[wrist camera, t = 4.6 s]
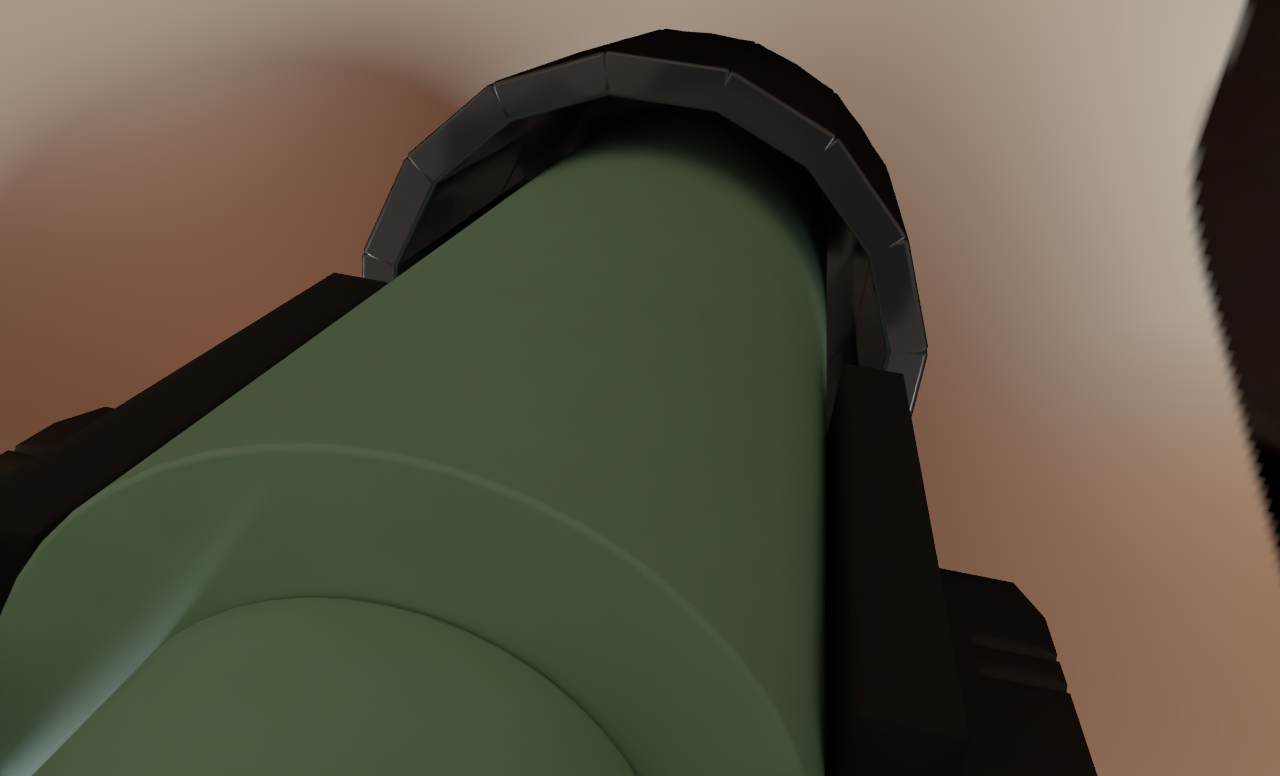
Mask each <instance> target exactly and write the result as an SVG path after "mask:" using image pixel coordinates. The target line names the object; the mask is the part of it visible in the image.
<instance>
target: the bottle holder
mask: <svg viewBox="0 0 1280 776" xmlns="http://www.w3.org/2000/svg"><path fill="white" fill-rule="evenodd" d="M677 109H680V110H692V111H701V112H705V113H710V114H714V115H719V116H722V117H724V118H726V119H728V120H730V121H731V122H733V123H734V124H736V125H738V126H739V127H741V128H743V129H744V130H746V131H747V132H749V133H751V134H752V135H754V136H755V137H757V138H759V139H760V140H762V141H763V142H765V143H767V144H768V145H770V146H772V147H773V148H775V149H776V150H778V151H780V152H781V153H783V154H784V155H785V156H786V157H787V158H788V159H789V160H790V162H791V163H792V164H793V165H794V166H795V168H796V169H797V170H798V171H799V173H800V174H801V176H802V177H803V179H804V180H805V182H806V184H807V185H808V187H809V189H810V190H811V192H812V195H813V197H814V199H815V202H816V204H817V206H818V209H819V212H820V215H821V219H822V222H823V226H824V231H825V238H826V246H827V346H826V437H827V432H828V428H829V423H830V419H831V414H832V410H833V405H834V401H835V396H836V392H837V387H838V383H839V378H840V374H841V369H842V365H843V363H846V364H851V365H857V366H862V367H868V368H874V369H879V370H885V371H891V372H896V373H902V374H903V375H904V380H905V386H906V391H907V397H908V402H909V408H910V413H911V417H912V413H913V409H914V406H915V402H916V398H917V394H918V390H919V386H920V382H921V379H922V375H923V371H924V367H925V363H926V359H927V347H928V344H927V339H926V333H925V328H924V322H923V316H922V311H921V306H920V300H919V295H918V289H917V283H916V278H915V272H914V266H913V261H912V255H911V250H910V245H909V240H908V237H907V233H906V230H905V227H904V223H903V220H902V217H901V213H900V210H899V206H898V203H897V200H896V196H895V193H894V190H893V186H892V183H891V179H890V176H889V173H888V171H887V168H886V165H885V164H884V162H883V161H882V159H881V158H880V156H879V155H878V153H877V152H876V150H875V149H874V147H873V146H872V145H871V143H870V141H869V139H868V137H867V136H866V134H865V132H864V131H863V129H862V127H861V126H860V124H859V123H858V122H857V121H856V119H855V118H854V117H853V116H852V114H851V113H850V112H849V110H848V109H847V108H846V106H845V105H844V103H843V102H842V100H841V99H840V97H839V96H838V94H836V93H834V91H833V90H832V89H830V88H829V87H827V86H826V85H824V84H822V83H821V82H820V81H819V80H817V79H816V78H815V77H813V76H812V75H810V74H809V73H808V72H806V71H805V70H804V69H802V68H801V67H800V66H798V65H797V64H795V63H793V62H791V61H789V60H787V59H785V58H784V57H782V56H780V55H778V54H776V53H774V52H772V51H771V50H768V49H766V48H765V47H763V46H762V45H760V44H757V43H756V44H755V42H754V41H747V40H740V39H735V38H731V37H726V36H722V35H717V34H712V33H699V32H686V31H678V30H671V29H664V30H656V31H653V32H649V33H646V34H642V35H639V36H635V37H632V38H628V39H624V40H621V41H618V42H614V43H610V44H607V45H603V46H600V47H597V48H593V49H589V50H586V51H582V52H579V53H576V54H573V55H570V56H567V57H565V58H562V59H559V60H556V61H553V62H550V63H547V64H545V65H541V66H538V67H536V68H533V69H530V70H527V71H524V72H521V73H518V74H515V75H512V76H509V77H507V78H504V79H501V80H498V81H495V82H494V83H493V84H490V85H488V86H486V87H485V88H484V89H483V90H482V91H481V92H479V93H478V94H477V95H476V96H475V97H474V98H472V99H471V100H470V101H469V102H468V103H467V104H466V105H464V106H463V107H462V108H461V109H460V110H458V111H457V113H455V114H454V115H453V116H452V117H450V118H449V119H448V120H447V121H446V122H445V123H443V124H442V125H441V126H440V127H439V128H438V129H436V130H435V131H434V132H433V133H432V134H431V135H429V136H428V137H427V138H426V139H425V140H424V141H422V142H421V143H420V144H419V145H418V146H417V147H415V148H414V150H412V151H411V152H410V153H409V154H408V157H407V158H406V159H405V160H404V162H403V164H402V166H401V169H400V171H399V173H398V175H397V177H396V180H395V182H394V184H393V186H392V188H391V191H390V193H389V195H388V197H387V199H386V202H385V204H384V206H383V208H382V210H381V213H380V215H379V217H378V219H377V222H376V224H375V226H374V228H373V230H372V233H371V235H370V237H369V239H368V242H367V244H366V246H365V248H364V252H365V253H364V254H363V256H362V278H367V279H372V280H378V281H383V282H388V284H389V283H390V282H391V281H393V280H394V279H396V278H397V277H398V276H400V275H401V274H402V273H404V272H405V271H407V270H408V269H409V268H411V267H412V266H414V265H415V264H416V263H418V262H419V261H420V260H422V259H423V258H425V257H426V256H427V255H429V254H430V253H432V252H433V251H434V250H436V249H437V248H438V247H440V246H441V245H443V244H444V243H445V242H447V241H448V240H450V239H451V238H452V237H454V236H455V235H457V234H458V233H459V232H461V231H462V230H463V229H465V228H466V227H468V226H469V225H470V224H472V223H473V222H475V221H476V220H477V219H479V218H480V217H481V216H483V215H484V214H486V213H487V212H488V211H490V210H491V209H493V208H494V207H495V206H497V205H498V204H499V203H501V202H502V201H504V200H505V199H506V198H508V197H509V196H511V195H512V194H513V193H515V192H516V191H517V190H519V189H520V188H522V187H523V186H524V185H526V184H527V183H529V182H530V181H531V180H533V179H534V178H536V177H537V176H538V175H540V174H541V173H542V172H544V171H545V170H547V169H548V168H549V167H551V166H552V165H554V164H555V163H556V162H558V161H559V160H560V159H562V158H563V157H565V156H566V155H567V154H569V153H570V152H572V151H573V150H574V149H576V148H577V147H578V146H580V145H581V144H583V143H584V142H585V141H587V140H588V139H590V138H591V137H593V136H594V135H596V134H597V133H598V132H600V131H601V130H603V129H605V128H607V127H609V126H611V125H613V124H615V123H617V122H619V121H621V120H624V119H627V118H630V117H632V116H635V115H638V114H643V113H648V112H653V111H659V110H677Z"/></svg>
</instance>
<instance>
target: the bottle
mask: <svg viewBox="0 0 1280 776" xmlns="http://www.w3.org/2000/svg"><path fill="white" fill-rule="evenodd" d="M826 346H827V246H826V238H825V231H824V226H823V222H822V219H821V215H820V212H819V209H818V206H817V204H816V202H815V199H814V197H813V195H812V192H811V190H810V189H809V187H808V185H807V184H806V182H805V180H804V179H803V177H802V176H801V174H800V173H799V171H798V170H797V169H796V168H795V166H794V165H793V164H792V163H791V162H790V160H789V159H788V158H787V157H786V156H785V155H784V154H783V153H781V152H780V151H778V150H776V149H775V148H773V147H772V146H770V145H768V144H767V143H765V142H763V141H762V140H760V139H759V138H757V137H755V136H754V135H752V134H751V133H749V132H747V131H746V130H744V129H743V128H741V127H739V126H738V125H736V124H734V123H733V122H731V121H730V120H728V119H726V118H724V117H722V116H719V115H714V114H710V113H705V112H701V111H692V110H680V109H677V110H659V111H653V112H648V113H643V114H638V115H635V116H632V117H630V118H627V119H624V120H621V121H619V122H617V123H615V124H613V125H611V126H609V127H607V128H605V129H603V130H601V131H600V132H598V133H597V134H596V135H594V136H593V137H591V138H590V139H588V140H587V141H585V142H584V143H583V144H581V145H580V146H578V147H577V148H576V149H574V150H573V151H572V152H570V153H569V154H567V155H566V156H565V157H563V158H562V159H560V160H559V161H558V162H556V163H555V164H554V165H552V166H551V167H549V168H548V169H547V170H545V171H544V172H542V173H541V174H540V175H538V176H537V177H536V178H534V179H533V180H531V181H530V182H529V183H527V184H526V185H524V186H523V187H522V188H520V189H519V190H517V191H516V192H515V193H513V194H512V195H511V196H509V197H508V198H506V199H505V200H504V201H502V202H501V203H499V204H498V205H497V206H495V207H494V208H493V209H491V210H490V211H488V212H487V213H486V214H484V215H483V216H481V217H480V218H479V219H477V220H476V221H475V222H473V223H472V224H470V225H469V226H468V227H466V228H465V229H463V230H462V231H461V232H459V233H458V234H457V235H455V236H454V237H452V238H451V239H450V240H448V241H447V242H445V243H444V244H443V245H441V246H440V247H438V248H437V249H436V250H434V251H433V252H432V253H430V254H429V255H427V256H426V257H425V258H423V259H422V260H420V261H419V262H418V263H416V264H415V265H414V266H412V267H411V268H409V269H408V270H407V271H405V272H404V273H402V274H401V275H400V276H398V277H397V278H396V279H394V280H393V281H391V282H390V283H389V284H387V285H386V286H384V287H383V288H382V289H380V290H379V291H377V292H376V293H375V294H373V295H372V296H371V297H369V298H368V299H366V300H365V301H364V302H362V303H361V304H359V305H358V306H357V307H355V308H354V309H353V310H351V311H350V312H348V313H347V314H346V315H344V316H343V317H341V318H340V319H339V320H337V321H336V322H335V323H333V324H332V325H330V326H329V327H328V328H326V329H325V330H323V331H322V332H321V333H319V334H318V335H316V336H315V337H314V338H312V339H311V340H310V341H308V342H307V343H305V344H304V345H303V346H301V347H300V348H298V349H297V350H296V351H294V352H293V353H292V354H290V355H289V356H287V357H286V358H285V359H283V360H282V361H280V362H279V363H278V364H276V365H275V366H274V367H272V368H271V369H269V370H268V371H267V372H265V373H264V374H262V375H261V376H260V377H258V378H257V379H255V380H254V381H253V382H251V383H250V384H249V385H247V386H246V387H244V388H243V389H242V390H240V391H239V392H237V393H236V394H235V395H233V396H232V397H231V398H229V399H228V400H226V401H225V402H224V403H222V404H221V405H219V406H218V407H217V408H215V409H214V410H213V411H211V412H210V413H208V414H207V415H206V416H204V417H203V418H201V419H200V420H199V421H197V422H196V423H194V424H193V425H192V426H190V427H189V428H188V429H186V430H185V431H183V432H182V433H181V434H179V435H178V436H176V437H175V438H174V439H172V440H171V441H170V442H168V443H167V444H165V445H164V446H163V447H161V448H160V449H158V450H157V451H156V452H154V453H153V454H152V455H150V456H149V457H147V458H146V459H145V460H143V461H142V462H140V463H139V464H138V465H136V466H135V467H133V468H132V469H131V470H129V471H128V472H127V473H125V474H124V475H122V476H121V477H120V478H118V479H117V480H115V481H114V482H113V483H111V484H110V485H109V486H107V487H106V488H104V489H103V490H102V491H100V492H99V493H97V494H96V495H95V496H93V497H92V498H91V499H89V500H88V501H86V502H85V503H84V504H82V505H81V506H79V507H78V508H77V509H75V510H74V511H73V512H72V513H71V514H70V515H69V516H68V517H67V518H66V519H65V520H64V521H63V522H62V523H61V524H60V525H58V526H57V527H56V528H55V529H54V530H53V531H52V532H51V533H50V534H49V535H48V536H47V537H46V538H45V539H44V540H43V541H42V542H41V544H40V545H39V547H38V548H37V549H36V551H35V552H34V554H33V555H32V557H31V558H30V560H29V561H28V562H27V564H26V565H25V567H24V568H23V570H22V571H21V573H20V574H19V576H18V577H17V579H16V581H15V583H14V585H13V588H12V590H11V592H10V595H9V597H8V599H7V601H6V604H5V606H4V608H3V610H2V613H1V615H0V776H825V631H826Z"/></svg>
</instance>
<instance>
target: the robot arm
mask: <svg viewBox="0 0 1280 776" xmlns="http://www.w3.org/2000/svg"><path fill="white" fill-rule="evenodd" d="M387 284H388V282H383V281H378V280H372V279H367V278H360V277H355V276H350V275H344V274H338V273H333V274H331V275H330V276H328V277H326V278H325V279H323V280H322V281H320V282H318V283H317V284H315V285H314V286H312V287H310V288H309V289H307V290H305V291H304V292H302V293H301V294H299V295H297V296H296V297H294V298H293V299H291V300H289V301H288V302H286V303H284V304H283V305H281V306H280V307H278V308H276V309H275V310H273V311H272V312H270V313H268V314H267V315H265V316H263V317H262V318H260V319H259V320H257V321H255V322H254V323H252V324H251V325H249V326H247V327H246V328H244V329H242V330H241V331H239V332H238V333H236V334H234V335H233V336H231V337H230V338H228V339H226V340H225V341H223V342H222V343H220V344H218V345H217V346H215V347H214V348H212V349H210V350H209V351H207V352H206V353H204V354H202V355H201V356H199V357H197V358H196V359H194V360H192V361H191V362H189V363H188V364H186V365H185V366H183V367H181V368H180V369H178V370H176V371H175V372H173V373H172V374H170V375H168V376H167V377H165V378H163V379H162V380H160V381H159V382H157V383H155V384H154V385H152V386H151V387H149V388H147V389H146V390H144V391H142V392H141V393H139V394H138V395H136V396H135V397H133V398H131V399H130V400H128V401H126V402H125V403H123V404H122V405H120V406H118V407H117V408H115V409H114V408H109V407H103V408H100V409H97V410H94V411H90V412H87V413H84V414H81V415H78V416H75V417H72V418H68V419H65V420H62V421H59V422H56V423H54V424H52V425H50V426H49V427H47V428H45V429H43V430H42V431H40V432H38V433H37V434H35V435H33V436H32V437H30V438H28V439H27V440H25V441H24V442H22V443H20V444H18V445H17V446H16V449H15V451H9V450H8V451H6V452H4V453H3V454H1V455H0V615H1V613H2V610H3V608H4V606H5V604H6V601H7V599H8V597H9V595H10V592H11V590H12V588H13V585H14V583H15V581H16V579H17V577H18V576H19V574H20V573H21V571H22V570H23V568H24V567H25V565H26V564H27V562H28V561H29V560H30V558H31V557H32V555H33V554H34V552H35V551H36V549H37V548H38V547H39V545H40V544H41V542H42V541H43V540H44V539H45V538H46V537H47V536H48V535H49V534H50V533H51V532H52V531H53V530H54V529H55V528H56V527H57V526H58V525H60V524H61V523H62V522H63V521H64V520H65V519H66V518H67V517H68V516H69V515H70V514H71V513H72V512H73V511H74V510H75V509H77V508H78V507H79V506H81V505H82V504H84V503H85V502H86V501H88V500H89V499H91V498H92V497H93V496H95V495H96V494H97V493H99V492H100V491H102V490H103V489H104V488H106V487H107V486H109V485H110V484H111V483H113V482H114V481H115V480H117V479H118V478H120V477H121V476H122V475H124V474H125V473H127V472H128V471H129V470H131V469H132V468H133V467H135V466H136V465H138V464H139V463H140V462H142V461H143V460H145V459H146V458H147V457H149V456H150V455H152V454H153V453H154V452H156V451H157V450H158V449H160V448H161V447H163V446H164V445H165V444H167V443H168V442H170V441H171V440H172V439H174V438H175V437H176V436H178V435H179V434H181V433H182V432H183V431H185V430H186V429H188V428H189V427H190V426H192V425H193V424H194V423H196V422H197V421H199V420H200V419H201V418H203V417H204V416H206V415H207V414H208V413H210V412H211V411H213V410H214V409H215V408H217V407H218V406H219V405H221V404H222V403H224V402H225V401H226V400H228V399H229V398H231V397H232V396H233V395H235V394H236V393H237V392H239V391H240V390H242V389H243V388H244V387H246V386H247V385H249V384H250V383H251V382H253V381H254V380H255V379H257V378H258V377H260V376H261V375H262V374H264V373H265V372H267V371H268V370H269V369H271V368H272V367H274V366H275V365H276V364H278V363H279V362H280V361H282V360H283V359H285V358H286V357H287V356H289V355H290V354H292V353H293V352H294V351H296V350H297V349H298V348H300V347H301V346H303V345H304V344H305V343H307V342H308V341H310V340H311V339H312V338H314V337H315V336H316V335H318V334H319V333H321V332H322V331H323V330H325V329H326V328H328V327H329V326H330V325H332V324H333V323H335V322H336V321H337V320H339V319H340V318H341V317H343V316H344V315H346V314H347V313H348V312H350V311H351V310H353V309H354V308H355V307H357V306H358V305H359V304H361V303H362V302H364V301H365V300H366V299H368V298H369V297H371V296H372V295H373V294H375V293H376V292H377V291H379V290H380V289H382V288H383V287H384V286H386V285H387ZM1056 657H1057V653H1056V650H1055V647H1054V644H1053V641H1052V638H1051V635H1050V632H1049V629H1048V626H1047V623H1046V620H1045V618H1044V617H1043V615H1042V614H1041V613H1040V612H1039V611H1038V610H1037V609H1036V608H1035V606H1034V605H1033V604H1032V603H1031V602H1030V601H1029V600H1028V599H1027V598H1026V596H1024V594H1023V593H1022V592H1021V591H1020V590H1019V589H1018V587H1017V586H1016V585H1015V584H1014V583H1011V582H1007V581H1002V580H997V579H992V578H986V577H982V576H976V575H971V574H966V573H961V572H956V571H951V570H946V569H941V568H939V566H938V560H937V555H936V550H935V544H934V539H933V534H932V528H931V523H930V517H929V511H928V506H927V501H926V496H925V490H924V484H923V479H922V473H921V468H920V462H919V457H918V451H917V446H916V441H915V435H914V430H913V424H912V420H911V413H910V408H909V402H908V397H907V391H906V386H905V380H904V375H903V374H902V373H896V372H891V371H885V370H879V369H874V368H868V367H862V366H857V365H851V364H846V363H843V365H842V369H841V374H840V378H839V383H838V387H837V392H836V396H835V401H834V405H833V410H832V414H831V419H830V423H829V428H828V432H827V437H826V631H825V776H1097V773H1096V771H1095V767H1094V764H1093V761H1092V758H1091V755H1090V752H1089V749H1088V746H1087V743H1086V740H1085V737H1084V734H1083V731H1082V728H1081V725H1080V722H1079V719H1078V716H1077V713H1076V710H1075V707H1074V704H1073V701H1072V698H1071V695H1070V694H1069V693H1067V683H1066V680H1065V677H1064V674H1063V671H1062V668H1061V665H1060V662H1057V661H1056Z"/></svg>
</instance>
